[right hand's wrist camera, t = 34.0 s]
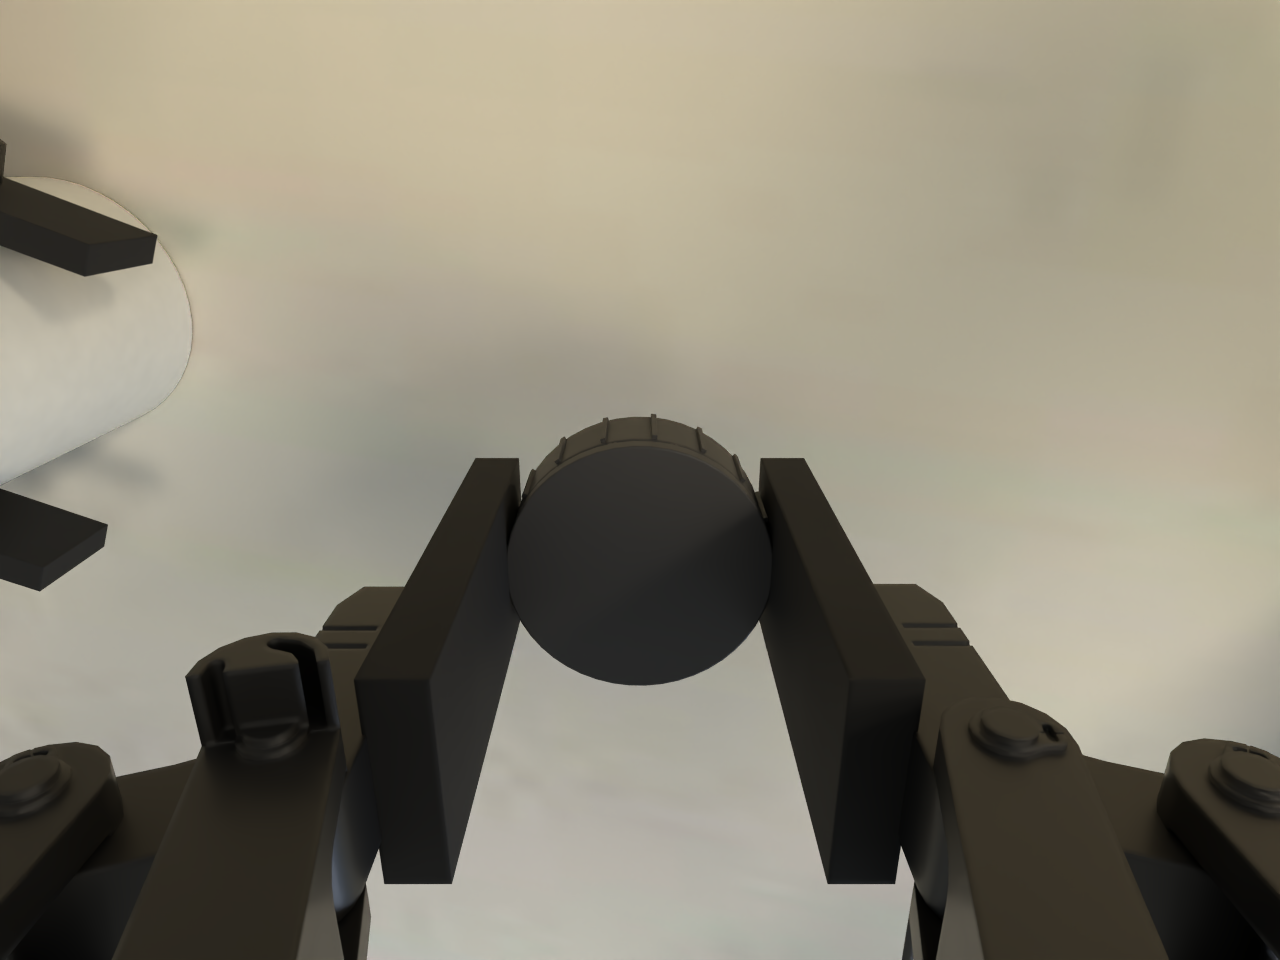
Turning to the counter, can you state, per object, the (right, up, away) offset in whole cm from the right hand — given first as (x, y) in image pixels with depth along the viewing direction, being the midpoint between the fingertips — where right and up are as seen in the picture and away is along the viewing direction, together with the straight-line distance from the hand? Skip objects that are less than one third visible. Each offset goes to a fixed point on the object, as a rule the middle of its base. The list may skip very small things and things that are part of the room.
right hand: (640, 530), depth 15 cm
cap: (0, 0, -1) cm, 1 cm away
